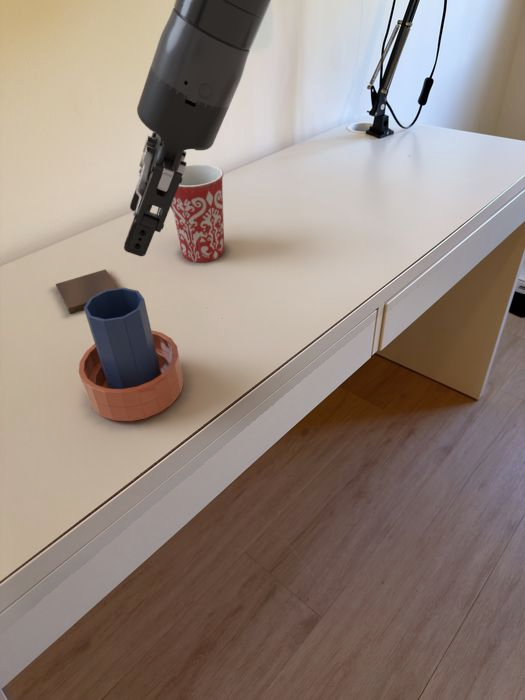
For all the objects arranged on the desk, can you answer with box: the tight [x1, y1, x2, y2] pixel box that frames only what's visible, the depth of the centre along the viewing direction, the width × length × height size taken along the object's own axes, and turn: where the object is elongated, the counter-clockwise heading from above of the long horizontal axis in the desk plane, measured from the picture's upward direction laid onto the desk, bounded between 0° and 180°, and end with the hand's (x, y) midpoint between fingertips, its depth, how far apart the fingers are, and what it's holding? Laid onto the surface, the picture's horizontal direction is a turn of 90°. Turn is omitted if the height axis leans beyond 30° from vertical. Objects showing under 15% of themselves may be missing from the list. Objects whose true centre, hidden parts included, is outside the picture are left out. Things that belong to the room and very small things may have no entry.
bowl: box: [78, 329, 185, 422], centre depth 62 cm, size 11×11×5 cm
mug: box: [170, 163, 225, 263], centre depth 86 cm, size 13×9×14 cm
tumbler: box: [83, 287, 161, 389], centre depth 59 cm, size 6×6×12 cm
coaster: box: [55, 269, 119, 315], centre depth 81 cm, size 8×8×1 cm
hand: (136, 230), depth 56 cm, fingers open, 8 cm apart
